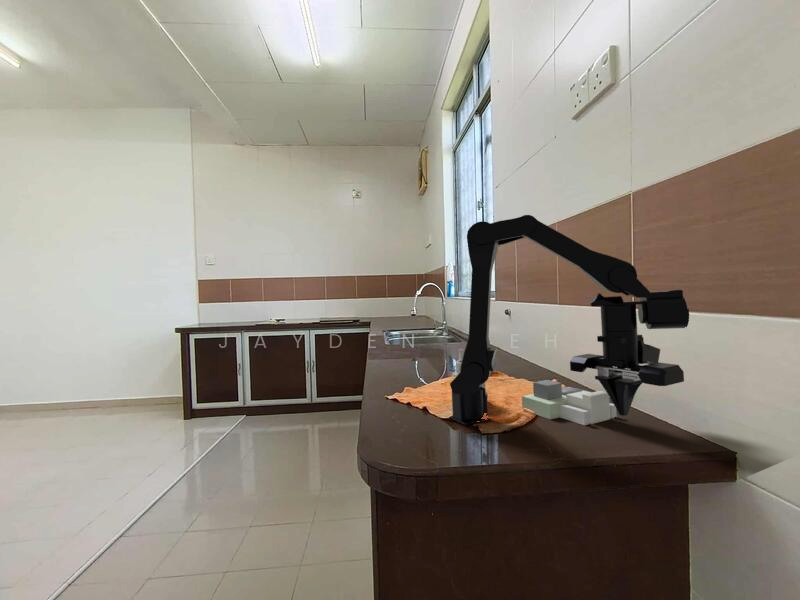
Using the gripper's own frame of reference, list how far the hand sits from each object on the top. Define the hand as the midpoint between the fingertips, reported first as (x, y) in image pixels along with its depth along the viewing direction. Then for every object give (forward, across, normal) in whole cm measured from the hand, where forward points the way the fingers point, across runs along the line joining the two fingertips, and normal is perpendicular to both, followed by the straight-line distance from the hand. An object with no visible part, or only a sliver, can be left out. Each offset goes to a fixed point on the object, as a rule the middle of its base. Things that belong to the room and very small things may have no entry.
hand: (623, 415), depth 74 cm
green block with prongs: (+2, +12, 0) cm, 12 cm away
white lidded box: (+2, +8, 0) cm, 8 cm away
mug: (+2, +32, +12) cm, 34 cm away
